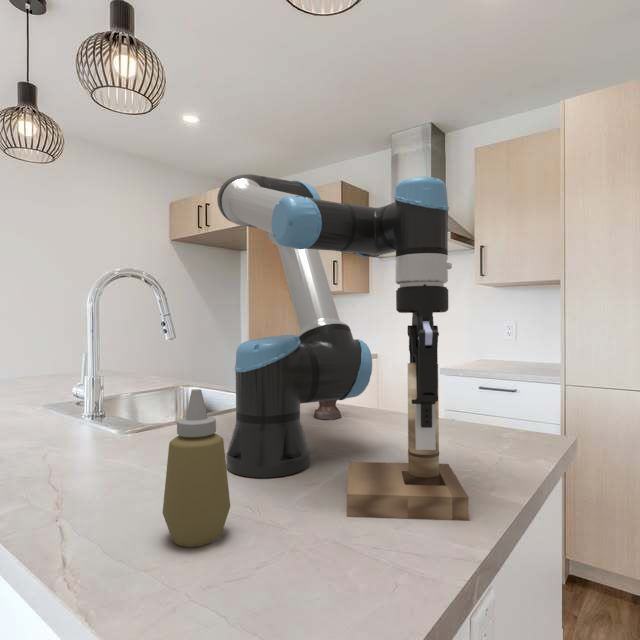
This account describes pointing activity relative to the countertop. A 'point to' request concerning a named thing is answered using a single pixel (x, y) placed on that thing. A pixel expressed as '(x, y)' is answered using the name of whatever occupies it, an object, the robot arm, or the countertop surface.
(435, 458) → the peg
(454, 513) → the board
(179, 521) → the squeeze bottle
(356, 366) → the robot arm
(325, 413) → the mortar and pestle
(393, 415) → the countertop surface
